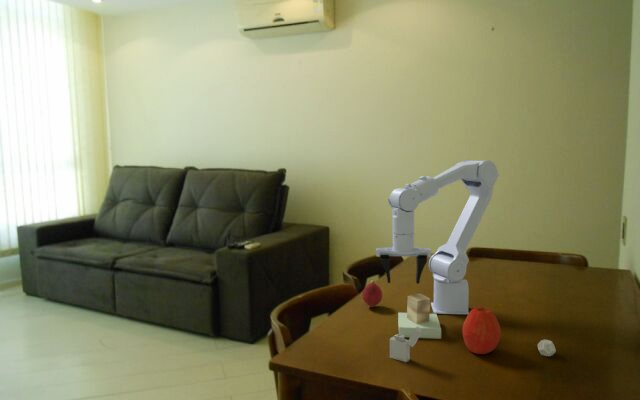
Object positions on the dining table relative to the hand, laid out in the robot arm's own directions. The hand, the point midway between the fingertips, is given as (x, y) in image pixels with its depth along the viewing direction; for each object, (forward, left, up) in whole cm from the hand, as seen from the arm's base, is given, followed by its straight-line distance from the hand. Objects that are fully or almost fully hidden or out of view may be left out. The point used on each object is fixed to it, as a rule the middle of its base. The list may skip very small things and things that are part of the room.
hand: (403, 282), depth 120 cm
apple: (-16, +19, -10) cm, 27 cm away
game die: (-30, +19, -10) cm, 37 cm away
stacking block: (-3, +8, -10) cm, 14 cm away
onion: (+9, -7, -10) cm, 15 cm away
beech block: (-3, +8, -7) cm, 11 cm away
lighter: (+1, +25, -10) cm, 27 cm away
